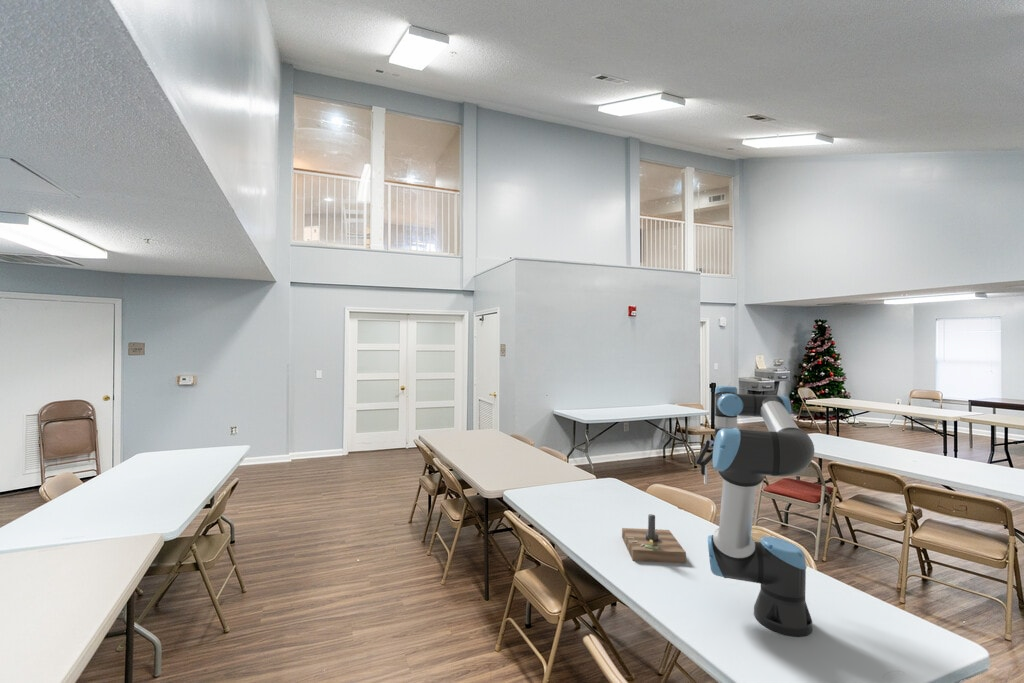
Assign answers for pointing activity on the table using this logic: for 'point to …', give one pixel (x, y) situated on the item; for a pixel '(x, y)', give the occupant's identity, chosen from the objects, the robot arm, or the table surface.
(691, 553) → the table surface
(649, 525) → the dark grey lever
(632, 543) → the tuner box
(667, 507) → the table surface
